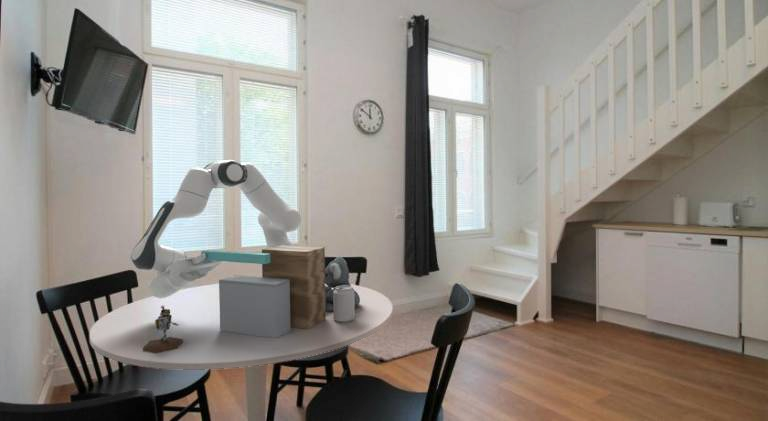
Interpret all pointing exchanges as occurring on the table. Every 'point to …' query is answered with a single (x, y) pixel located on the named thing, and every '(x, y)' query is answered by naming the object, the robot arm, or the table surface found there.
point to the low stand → (255, 305)
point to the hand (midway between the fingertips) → (210, 254)
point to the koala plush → (337, 281)
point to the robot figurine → (164, 342)
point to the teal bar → (237, 257)
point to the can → (344, 303)
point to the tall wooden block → (300, 281)
